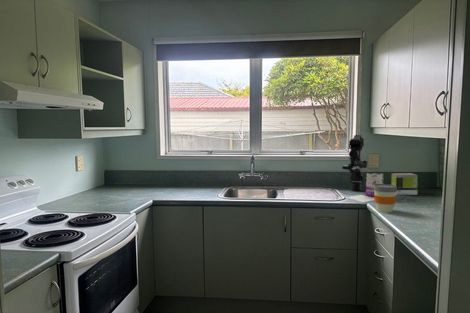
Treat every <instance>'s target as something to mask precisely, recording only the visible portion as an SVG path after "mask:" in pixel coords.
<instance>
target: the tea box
mask: <svg viewBox="0 0 470 313" xmlns="http://www.w3.org/2000/svg"><path fill="white" fill-rule="evenodd" d="M390 177H391V178H390V179H391V182H390V183H391V184H390V185H395V186H397V192H396V196H397V195H400V196H401V195H403V196H406V195H408V196H409V195H413V196H414V195H415V196H416V195H418V187H419V186H418V184H419V183H418V179H419V178H418V177H419V176H418V174H415V173H411V172H410V173H409V172H405V173H404V172H402V173H400V172H399V173H397V172H396V173H395V172H394V173H391V176H390Z"/></svg>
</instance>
